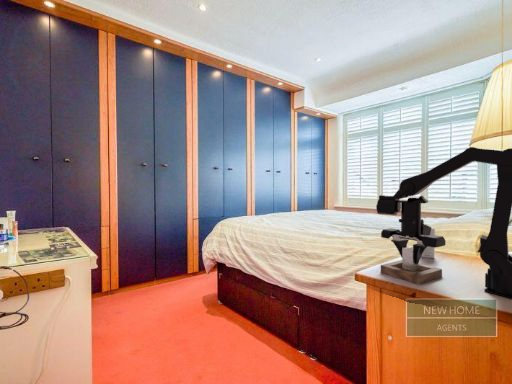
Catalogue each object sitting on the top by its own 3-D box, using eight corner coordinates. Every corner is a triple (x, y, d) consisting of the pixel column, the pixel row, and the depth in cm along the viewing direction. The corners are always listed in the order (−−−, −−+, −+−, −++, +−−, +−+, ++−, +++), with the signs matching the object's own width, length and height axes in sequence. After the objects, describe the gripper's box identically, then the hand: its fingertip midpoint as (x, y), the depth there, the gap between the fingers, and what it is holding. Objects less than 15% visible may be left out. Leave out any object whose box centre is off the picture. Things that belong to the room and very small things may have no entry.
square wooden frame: (441, 276, 88) (442, 269, 88) (418, 284, 82) (418, 276, 82) (403, 266, 100) (403, 259, 100) (380, 272, 94) (380, 265, 94)
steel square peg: (419, 269, 90) (419, 248, 90) (412, 271, 89) (412, 249, 88) (408, 266, 93) (408, 246, 93) (402, 268, 92) (402, 247, 91)
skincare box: (434, 258, 109) (435, 228, 109) (423, 257, 110) (423, 228, 110) (428, 254, 115) (428, 226, 115) (417, 253, 116) (417, 226, 116)
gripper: (455, 217, 86) (454, 266, 87) (399, 212, 102) (399, 253, 103) (435, 220, 81) (435, 272, 81) (380, 214, 97) (380, 257, 98)
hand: (410, 262), depth 91 cm, fingers closed on steel square peg, 4 cm apart
